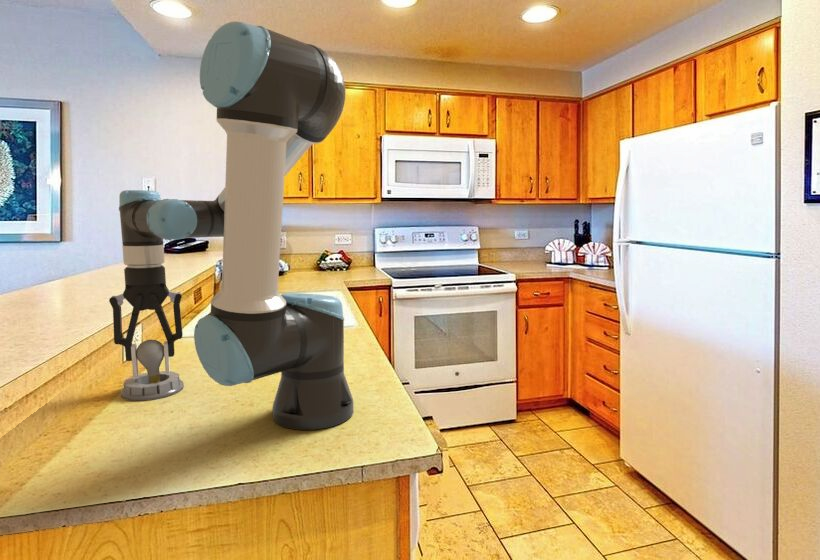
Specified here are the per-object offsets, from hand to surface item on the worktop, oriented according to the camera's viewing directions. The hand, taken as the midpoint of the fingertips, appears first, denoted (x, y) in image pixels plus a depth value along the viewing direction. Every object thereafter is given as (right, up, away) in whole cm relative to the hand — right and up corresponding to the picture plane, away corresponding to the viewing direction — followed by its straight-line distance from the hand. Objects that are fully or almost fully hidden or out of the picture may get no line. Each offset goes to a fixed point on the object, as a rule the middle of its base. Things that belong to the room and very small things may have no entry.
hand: (151, 373), depth 106 cm
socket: (0, -4, +1) cm, 4 cm away
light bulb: (0, -3, +1) cm, 3 cm away
